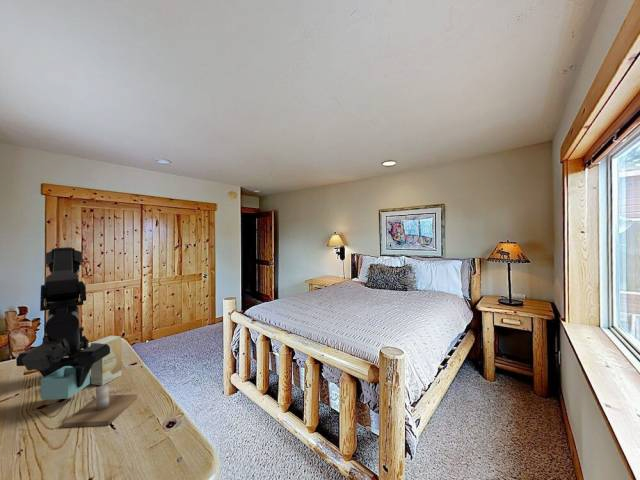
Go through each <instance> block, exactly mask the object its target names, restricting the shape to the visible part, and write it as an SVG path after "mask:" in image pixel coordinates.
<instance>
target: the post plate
mask: <svg viewBox="0 0 640 480" xmlns="http://www.w3.org/2000/svg"><path fill="white" fill-rule="evenodd" d="M109 391H110V390H109V384H104V385H98V386H97V387H96V388H95V398H93V399H92V400H90V402H88V403H87V404H85V405H84V406H83V407H82V408H80V409H79V410H78V411H76V412H75V413H74V414H72V415H71V416H70V417H69V418H67V419H66V420H64V421H63V422H62V428H74V427H75V428H76V427H98V426H99V427H100V426H110V425H111V424H112V423H113V422H114V421H115V420H116V419H117V418H118V417H119V416H120V415H122V414H123V412H124V411H126V409H128V408H129V406H130V405H132V404H133V402H135V401H136V400H137V399H138V394H136V393H135V394H110V392H109Z"/></svg>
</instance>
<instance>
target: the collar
mask: <svg viewBox="0 0 640 480" xmlns="http://www.w3.org/2000/svg"><path fill="white" fill-rule="evenodd" d="M90 384H91V376H90V372H89V373H88V375H87V377H86V379H85V381H84V383H83V385H82V386H81V387H77V381H76V369H75V368H73V367H71V366H64V367H62V368H60V369H59V370H57V371H55V372H53V373H51V374H49V375H47V376H46V377H42V378H41V379H40V396H41V397H40V399H41V400H57V399H59V400H60V399H62V400H63V399H70V398H71V397H73V396H74V395H75V394H77V393H78V392H80V391H81V390H82V389H85V388H86V387H87V386H88V385H90Z"/></svg>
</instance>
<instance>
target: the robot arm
mask: <svg viewBox="0 0 640 480" xmlns="http://www.w3.org/2000/svg"><path fill="white" fill-rule="evenodd" d="M44 256H45V257H44V258H45V261H44V262H45V263H44V264H45V267H46V268H47V269H48V270H49V275H46V276H45V279H44V284H42V285H40V301H39V309H40V310H39V311H40V312H44V311H47V319H46V321H45V325H44V332H45V334H44V335H43V337H42V343H41V344H40V345H37V346H36V347H33V348H30V349H28V350H26V351H23V352H20V353H19V355H18V356H17V357H16V359H15V360H16V367H25V369H26V370H27V371H38V372H39V373H40V375H42V378H44V377H46V376H47V375H49V374H51V373H53V372H55V371H57V370H59V369H60V368H62V367H64V366H71V367H73V368H75V369H76V381H77V387H81V386H82V385H83V383H84V381H85V379H86V377H87V375H88V373H89V374H90V372H91V367H92V365H93V364H94V363H95V362H97V361H98V360H100V359H102V358H103V357H105V356H107V355H108V354H110V346H109V345H108V344H94V345H92V346H91V345H90V346H89V339H88V338H87V337H86V335H83V331H84V330H85V329H84V326H80V309H79V306H83V305H84V302H85V301H87V287H86V286H87V285H86V284H84V281H83V280H81V281H80V276H79V273H80V266H83V252H82V251H80V250H77V249H76V248H75V247H71V246H70V247H55V248H51V250H50V251H47V252H46V253H45V254H44ZM79 299H80V300H79Z"/></svg>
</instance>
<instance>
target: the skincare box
mask: <svg viewBox="0 0 640 480" xmlns="http://www.w3.org/2000/svg"><path fill="white" fill-rule="evenodd" d="M94 344H108V345H109V346H110V354H108V355H107V356H105V357H103V358H102V359H100V360H98V361H97V362H95V363H94V364H93V365H92V367H91V369H90V384H91V385H95V386H96V385H97V386H101V385H107V383H110V382H111V381H113V380H115V379H117V378H119V377H120V376H122V375H123V371H122V370H123V369H122V368H123V367H122V361H123V360H122V336H121V335H120V336H119V335H108V336H106V337H102V338H100V339H97V340H94V341H92V342H90V346H92V345H94Z"/></svg>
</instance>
